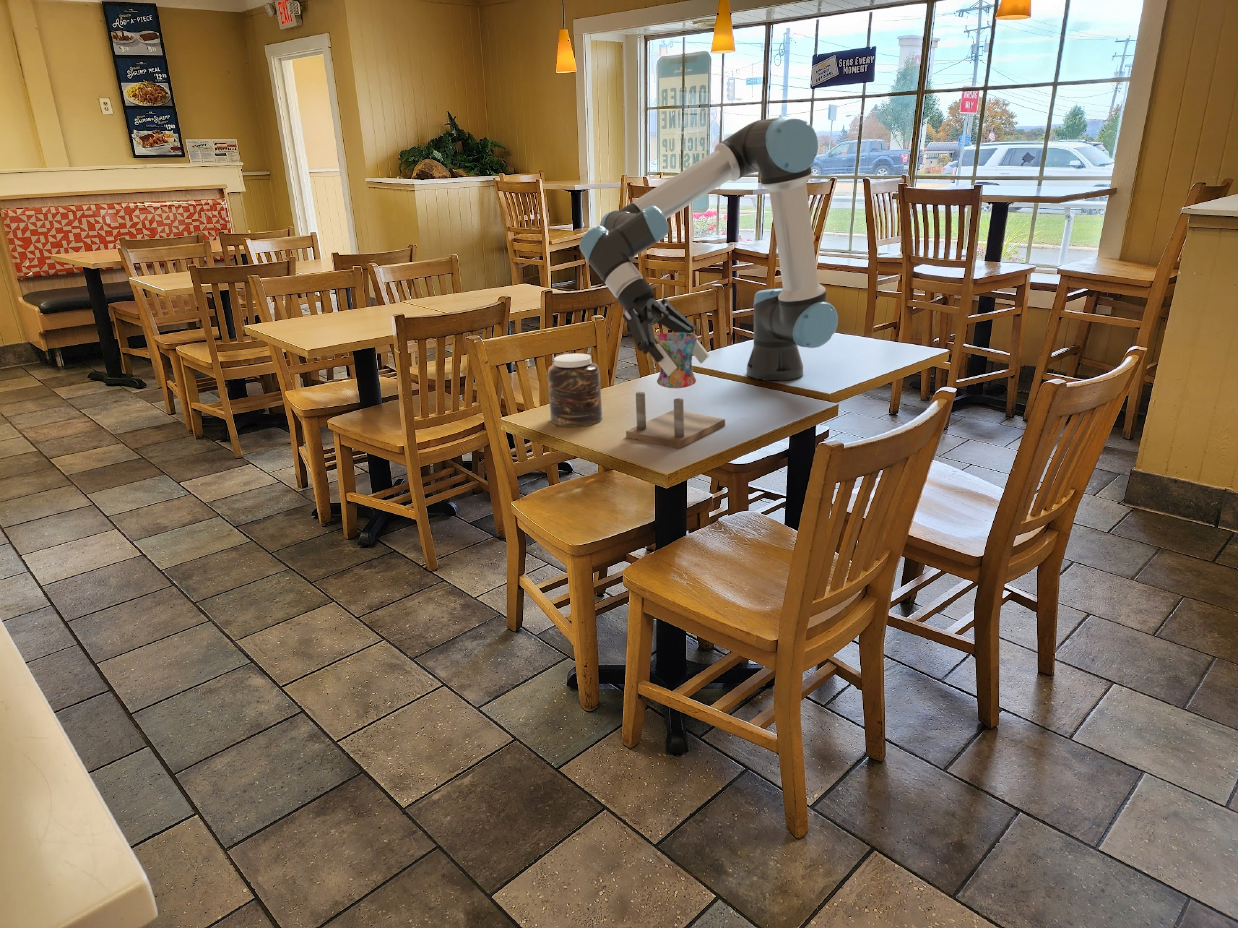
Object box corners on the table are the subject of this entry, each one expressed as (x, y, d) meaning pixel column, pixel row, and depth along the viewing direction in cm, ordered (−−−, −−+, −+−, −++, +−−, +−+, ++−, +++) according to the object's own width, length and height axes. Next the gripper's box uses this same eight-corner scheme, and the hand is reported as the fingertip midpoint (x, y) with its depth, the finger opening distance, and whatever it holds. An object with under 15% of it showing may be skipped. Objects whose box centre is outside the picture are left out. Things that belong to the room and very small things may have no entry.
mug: (686, 392, 169) (686, 342, 166) (647, 388, 174) (646, 339, 170) (710, 379, 179) (710, 331, 175) (672, 375, 183) (671, 328, 180)
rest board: (673, 415, 189) (672, 376, 186) (725, 425, 181) (725, 384, 178) (626, 437, 176) (624, 395, 173) (679, 448, 168) (678, 404, 165)
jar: (583, 409, 198) (579, 349, 192) (611, 420, 189) (608, 357, 184) (542, 420, 191) (537, 357, 186) (569, 431, 182) (564, 366, 177)
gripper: (653, 292, 188) (709, 364, 185) (586, 308, 171) (646, 388, 167) (671, 270, 183) (729, 343, 179) (604, 284, 166) (666, 366, 162)
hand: (689, 365), depth 173 cm, fingers closed on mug, 12 cm apart
